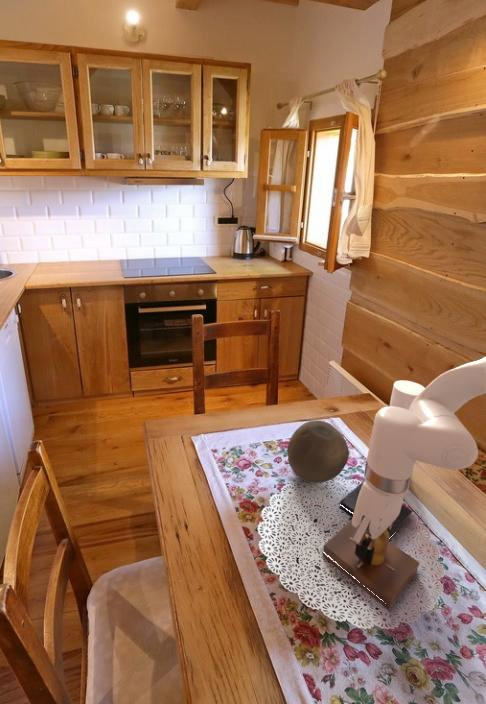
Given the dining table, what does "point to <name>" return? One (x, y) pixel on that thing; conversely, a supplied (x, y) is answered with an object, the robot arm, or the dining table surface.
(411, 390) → the cylindrical container
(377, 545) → the dial knob
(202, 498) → the dining table surface
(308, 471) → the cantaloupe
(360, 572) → the knob panel
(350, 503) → the button box
